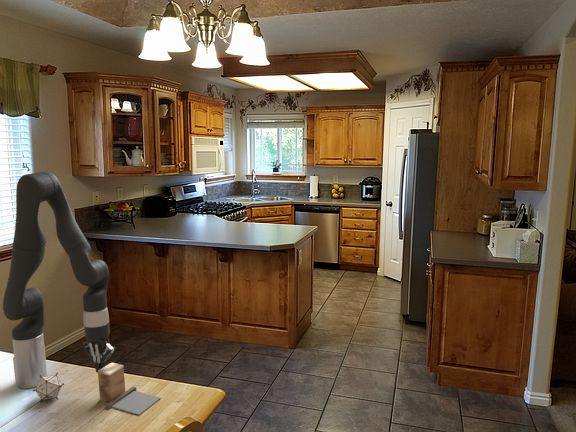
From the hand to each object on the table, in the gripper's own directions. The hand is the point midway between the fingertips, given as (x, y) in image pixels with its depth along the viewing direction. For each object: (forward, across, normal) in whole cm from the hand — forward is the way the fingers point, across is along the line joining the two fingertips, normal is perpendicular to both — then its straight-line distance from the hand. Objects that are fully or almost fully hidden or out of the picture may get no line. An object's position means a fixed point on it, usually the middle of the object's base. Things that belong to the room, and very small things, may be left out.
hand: (100, 371), depth 147 cm
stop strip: (+8, +8, 0) cm, 11 cm away
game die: (+8, -13, -9) cm, 18 cm away
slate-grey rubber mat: (+8, +15, 0) cm, 17 cm away
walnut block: (+8, +5, 0) cm, 9 cm away
